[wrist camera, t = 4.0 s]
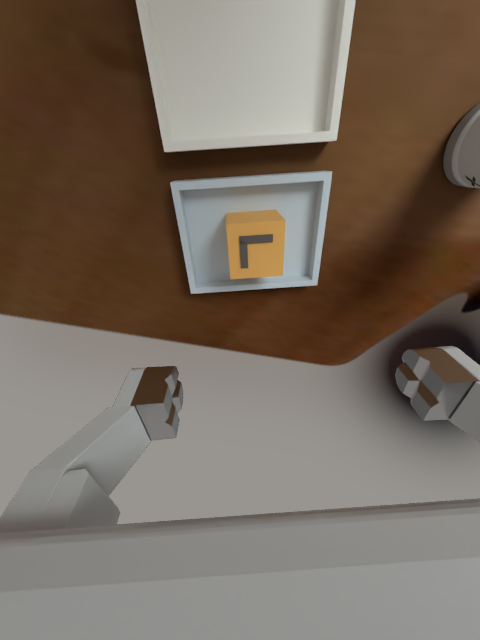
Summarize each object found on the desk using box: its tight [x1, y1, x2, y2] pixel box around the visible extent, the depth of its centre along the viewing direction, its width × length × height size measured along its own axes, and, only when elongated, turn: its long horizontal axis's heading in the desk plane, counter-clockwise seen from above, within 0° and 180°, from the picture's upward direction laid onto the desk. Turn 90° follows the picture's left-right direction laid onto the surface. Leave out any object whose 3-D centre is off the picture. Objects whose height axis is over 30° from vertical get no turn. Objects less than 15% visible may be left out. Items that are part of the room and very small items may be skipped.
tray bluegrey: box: [170, 171, 332, 294], centre depth 23 cm, size 10×13×2 cm
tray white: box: [136, 0, 356, 152], centre depth 16 cm, size 10×13×2 cm
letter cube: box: [226, 210, 286, 279], centre depth 21 cm, size 4×4×5 cm
